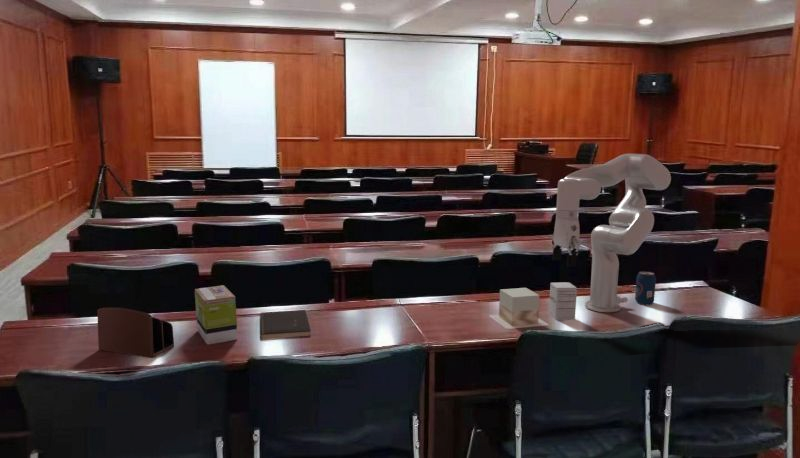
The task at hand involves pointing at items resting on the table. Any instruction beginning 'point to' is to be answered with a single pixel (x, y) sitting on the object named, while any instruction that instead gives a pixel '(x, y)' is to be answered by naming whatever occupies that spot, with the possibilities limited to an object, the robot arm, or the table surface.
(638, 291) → the soda can
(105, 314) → the letter holder
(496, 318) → the base board
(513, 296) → the upper block
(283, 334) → the hardcover book
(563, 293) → the supplement box
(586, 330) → the table surface
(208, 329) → the tea box
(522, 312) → the lower block
